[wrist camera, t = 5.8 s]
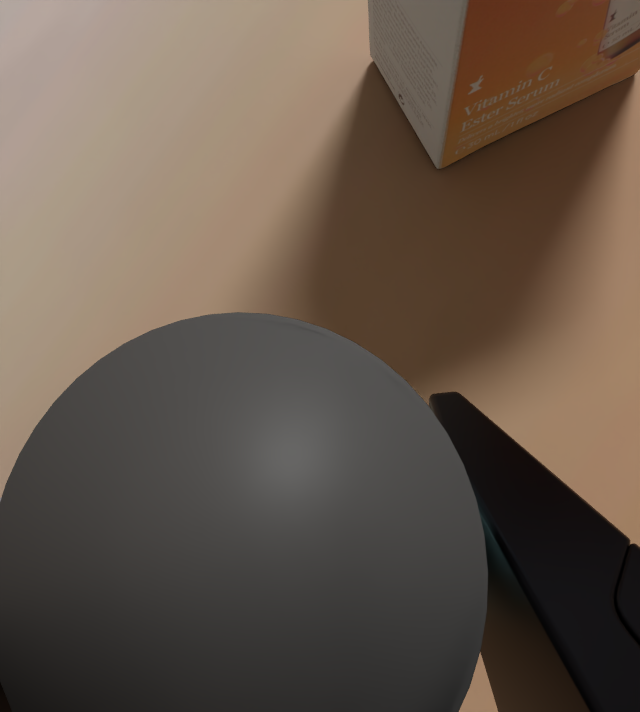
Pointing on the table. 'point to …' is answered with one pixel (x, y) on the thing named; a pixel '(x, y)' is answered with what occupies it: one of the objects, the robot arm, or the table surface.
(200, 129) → the table surface
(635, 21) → the small box
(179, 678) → the plug
